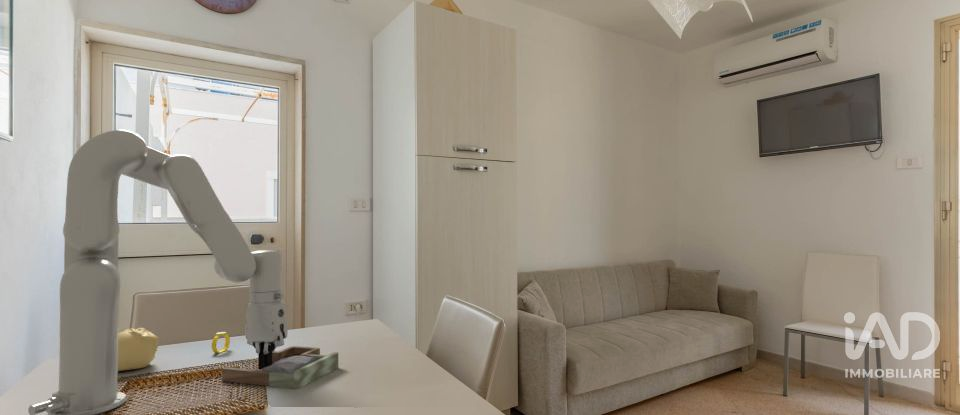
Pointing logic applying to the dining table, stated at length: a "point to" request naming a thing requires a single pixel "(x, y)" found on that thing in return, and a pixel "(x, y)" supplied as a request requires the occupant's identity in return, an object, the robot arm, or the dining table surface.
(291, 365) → the stone block
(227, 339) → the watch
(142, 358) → the sculpture
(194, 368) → the dining table surface
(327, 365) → the channel
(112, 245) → the robot arm
